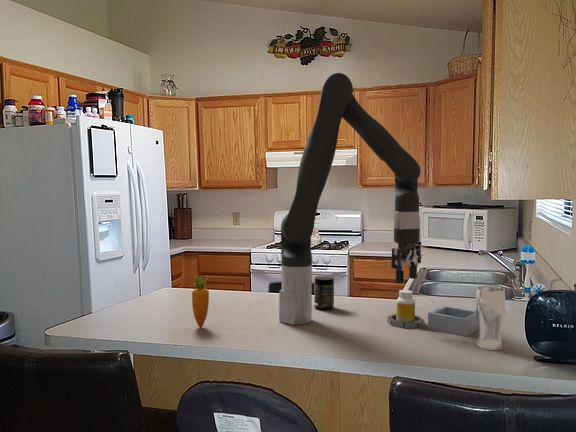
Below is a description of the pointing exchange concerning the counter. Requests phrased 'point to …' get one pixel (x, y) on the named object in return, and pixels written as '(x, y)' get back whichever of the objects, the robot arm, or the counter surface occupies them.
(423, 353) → the counter surface
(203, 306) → the carrot
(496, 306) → the beer glass
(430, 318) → the bin
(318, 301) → the supplement container
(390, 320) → the collar
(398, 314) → the supplement bottle
